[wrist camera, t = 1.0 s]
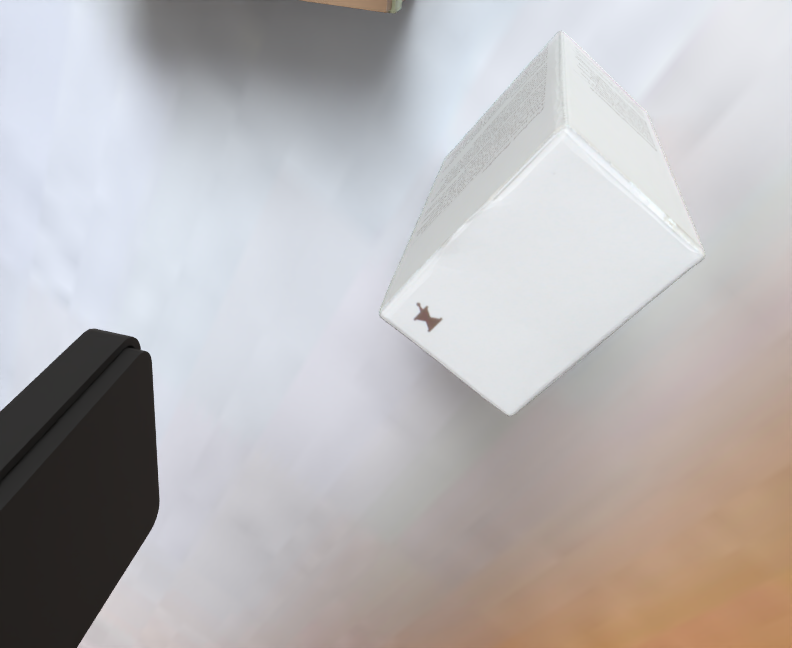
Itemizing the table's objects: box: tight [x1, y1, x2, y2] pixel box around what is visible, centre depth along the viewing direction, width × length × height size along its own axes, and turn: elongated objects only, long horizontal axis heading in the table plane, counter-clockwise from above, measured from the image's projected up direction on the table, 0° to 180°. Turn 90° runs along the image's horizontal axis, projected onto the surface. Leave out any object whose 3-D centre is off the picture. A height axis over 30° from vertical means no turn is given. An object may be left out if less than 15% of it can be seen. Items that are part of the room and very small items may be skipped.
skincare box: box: [379, 31, 705, 416], centre depth 21 cm, size 6×4×12 cm
